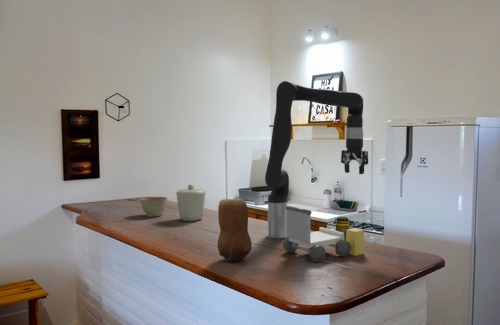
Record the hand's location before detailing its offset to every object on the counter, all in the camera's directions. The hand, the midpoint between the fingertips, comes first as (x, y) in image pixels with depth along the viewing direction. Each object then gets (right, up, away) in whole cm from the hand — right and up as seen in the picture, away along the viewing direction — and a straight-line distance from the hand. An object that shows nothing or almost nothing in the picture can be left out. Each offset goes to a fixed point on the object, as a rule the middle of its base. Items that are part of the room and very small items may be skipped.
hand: (354, 173), depth 197 cm
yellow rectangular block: (-3, -33, -15) cm, 37 cm away
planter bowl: (-107, -29, +74) cm, 134 cm away
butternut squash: (-54, -34, -24) cm, 68 cm away
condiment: (-6, -32, +2) cm, 33 cm away
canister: (-82, -29, +60) cm, 106 cm away
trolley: (-20, -33, -16) cm, 42 cm away
